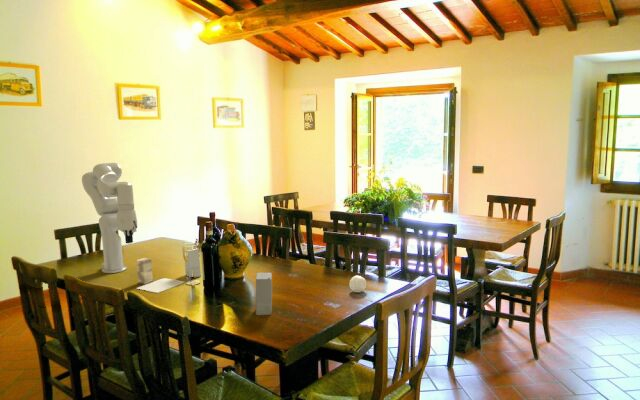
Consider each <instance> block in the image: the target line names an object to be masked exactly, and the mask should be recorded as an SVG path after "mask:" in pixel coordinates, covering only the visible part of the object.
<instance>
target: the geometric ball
mask: <svg viewBox="0 0 640 400" xmlns="http://www.w3.org/2000/svg"><path fill="white" fill-rule="evenodd" d="M348 286H349V288H350V290H351V291H353V292H354V293H359V294H360V293H361V292H363V291H364V290H365V289H366V288H367V281H366V279H365V278H364V277H363V276H361V275H354V276H352V277H351V279H350V280H349V285H348Z"/></svg>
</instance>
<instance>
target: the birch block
mask: <svg viewBox="0 0 640 400" xmlns="http://www.w3.org/2000/svg"><path fill="white" fill-rule="evenodd" d="M135 261H136V271H137V281H138V282H137V284H138V285H146V284H149V283H152V282H154V277H153V267H152V266H153V265H152V264H153V263H152V258H147V257H142V258H139V259H136V260H135Z"/></svg>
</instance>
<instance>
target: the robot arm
mask: <svg viewBox="0 0 640 400" xmlns="http://www.w3.org/2000/svg"><path fill="white" fill-rule="evenodd" d="M122 174H123V169H122V167H121V165H120V164H119V163H116V162H107V163H106V162H103V163H98V164H96V165H94V166H93V168H92V171H89V172H86V173H84V174H82V176H81V183H82V187H83V189H84V191H85V192H86V194H87V195H88V196H89V198H90V199H91V200H92V204H93V207H94V209H95V211H96V213H97V215H98V216H99V219H98V226H99V230H100V234H101V241H102V250H103V251H102V252H103V262H101V266H103V268H102V269H101V272H102V273H103V274H115V273H116V274H117V273H121V272H124V271H127V267H128V266H127V265H124V257H123V247H122V245H123V244H122V238H121V236H120V235H119V234H118V233H117V232H118V231H120V232H123V235H124V239H125V243H126V244H132V243H134V239H133V238H134V237H133V236H134V233H136V232H137V229H138V219H137V214H136V210H135V200H134V191H133V190H134V189H133V188H134V187H133V184H132V183H131V182H127V181H118V180H120V178H121V176H122Z"/></svg>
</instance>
